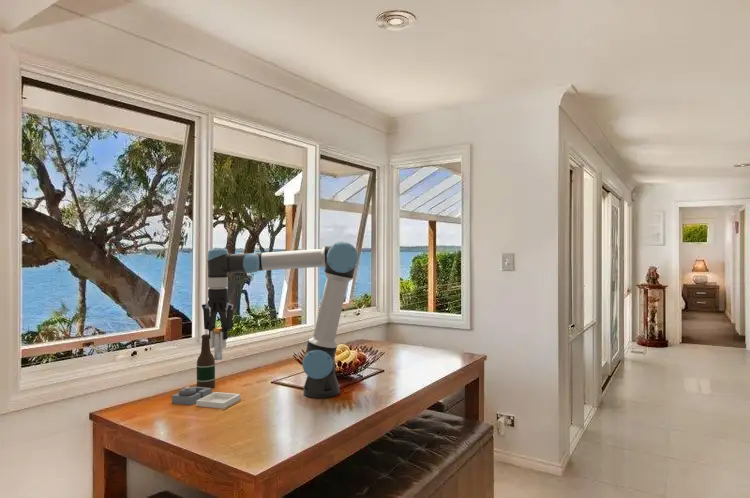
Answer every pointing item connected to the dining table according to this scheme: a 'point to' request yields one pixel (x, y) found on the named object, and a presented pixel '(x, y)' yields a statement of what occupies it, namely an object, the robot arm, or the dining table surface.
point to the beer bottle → (205, 365)
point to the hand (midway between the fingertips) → (218, 347)
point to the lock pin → (217, 344)
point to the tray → (219, 400)
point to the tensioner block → (190, 395)
